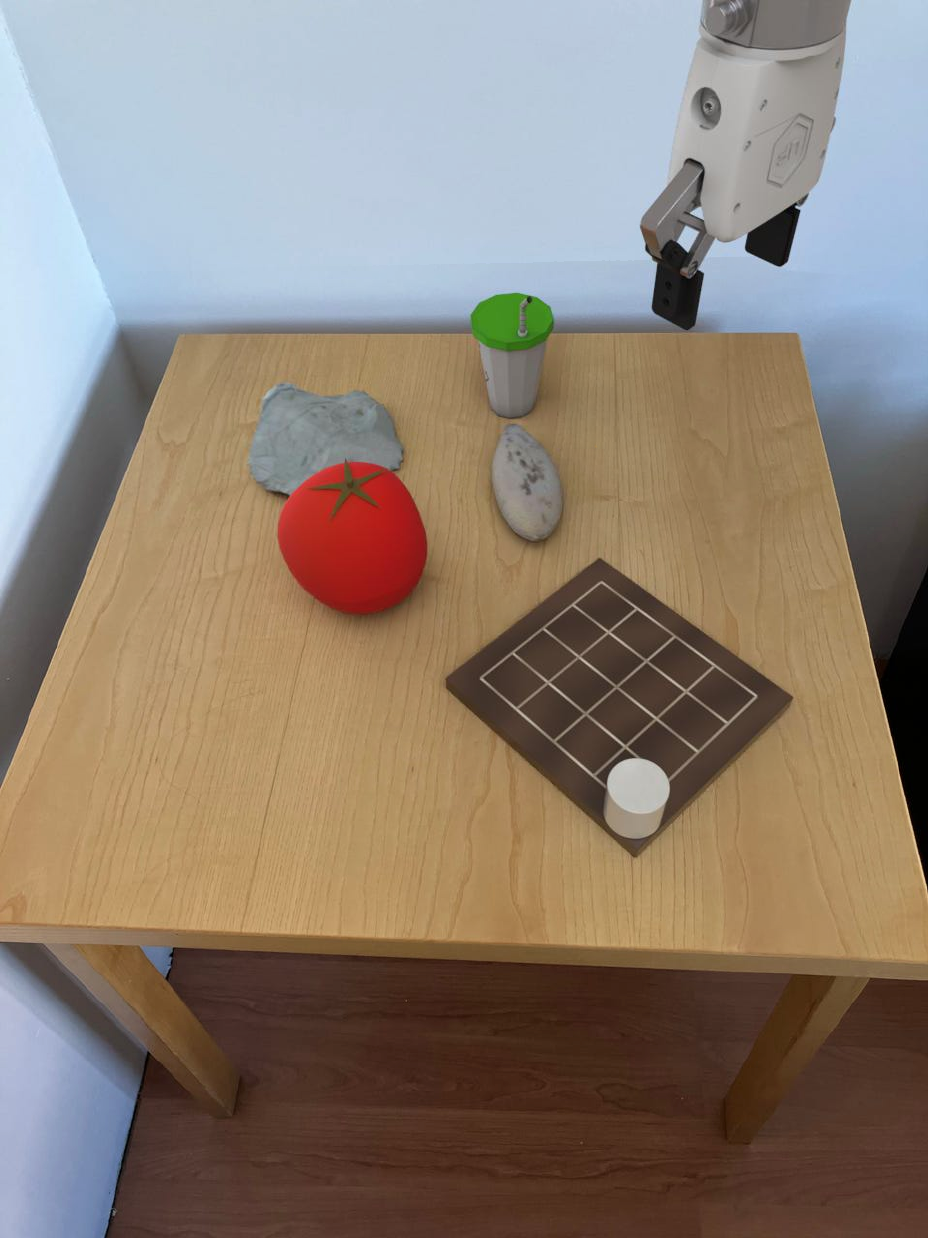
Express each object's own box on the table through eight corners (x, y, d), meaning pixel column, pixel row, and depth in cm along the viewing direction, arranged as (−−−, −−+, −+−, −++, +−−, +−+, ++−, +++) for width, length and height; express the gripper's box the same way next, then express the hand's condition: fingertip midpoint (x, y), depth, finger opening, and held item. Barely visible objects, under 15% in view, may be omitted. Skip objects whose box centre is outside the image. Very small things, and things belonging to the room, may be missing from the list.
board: (789, 707, 74) (794, 696, 73) (635, 859, 67) (637, 849, 66) (598, 568, 84) (599, 556, 83) (445, 688, 77) (444, 677, 76)
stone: (308, 511, 85) (205, 414, 90) (308, 541, 89) (209, 445, 94) (434, 433, 93) (333, 347, 97) (430, 463, 96) (332, 378, 101)
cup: (481, 375, 100) (477, 244, 89) (555, 382, 99) (561, 250, 87) (466, 425, 96) (460, 293, 84) (544, 433, 95) (548, 300, 83)
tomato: (454, 556, 85) (445, 451, 75) (400, 657, 79) (383, 556, 69) (331, 522, 89) (307, 416, 79) (269, 615, 82) (235, 513, 72)
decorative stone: (539, 433, 95) (540, 406, 92) (576, 548, 85) (578, 521, 83) (478, 442, 94) (477, 415, 92) (509, 558, 85) (509, 532, 82)
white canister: (675, 812, 68) (682, 785, 65) (635, 851, 66) (641, 825, 63) (630, 774, 70) (635, 746, 67) (590, 810, 68) (594, 784, 65)
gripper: (729, 77, 45) (680, 372, 59) (930, -31, 52) (844, 256, 65) (610, 33, 49) (590, 321, 62) (812, -63, 55) (754, 216, 69)
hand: (720, 287), depth 64 cm, fingers open, 9 cm apart
